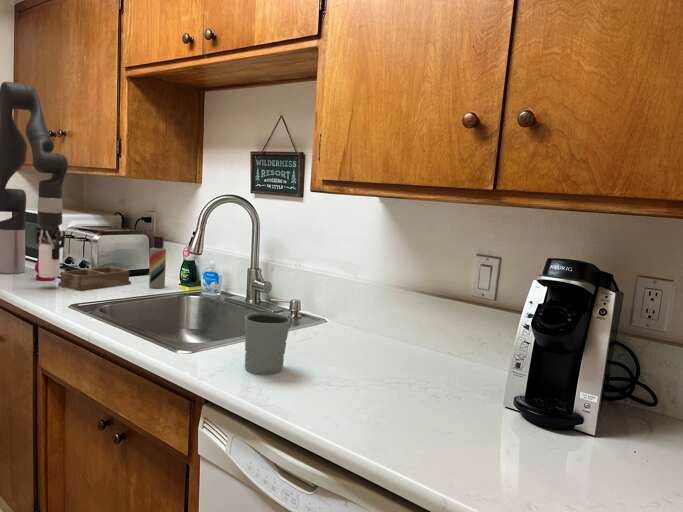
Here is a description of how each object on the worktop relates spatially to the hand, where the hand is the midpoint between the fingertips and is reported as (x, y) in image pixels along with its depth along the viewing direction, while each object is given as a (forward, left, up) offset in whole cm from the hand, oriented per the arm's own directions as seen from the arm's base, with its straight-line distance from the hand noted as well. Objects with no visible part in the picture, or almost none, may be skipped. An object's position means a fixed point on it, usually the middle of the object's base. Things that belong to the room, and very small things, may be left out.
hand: (49, 257), depth 181 cm
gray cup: (+107, -16, -11) cm, 109 cm away
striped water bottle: (+21, +29, -11) cm, 38 cm away
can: (0, 0, -7) cm, 7 cm away
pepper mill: (-16, +8, -11) cm, 21 cm away
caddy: (+4, +15, -11) cm, 19 cm away
